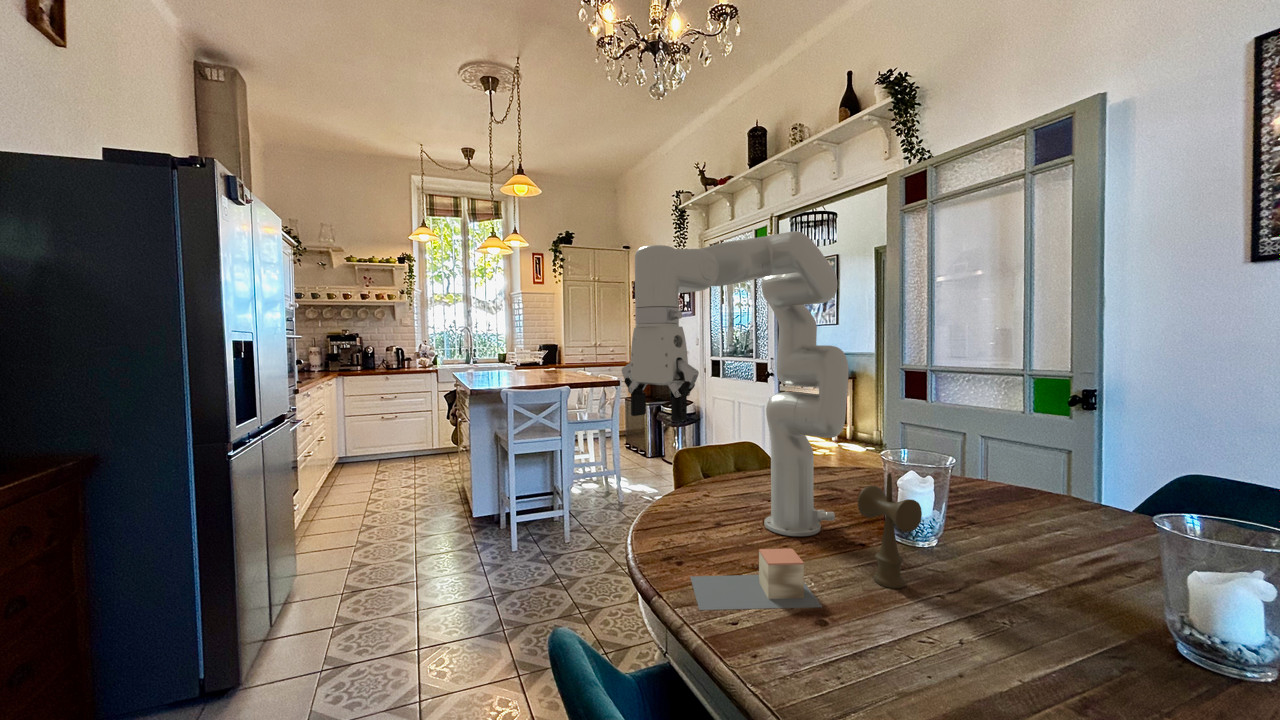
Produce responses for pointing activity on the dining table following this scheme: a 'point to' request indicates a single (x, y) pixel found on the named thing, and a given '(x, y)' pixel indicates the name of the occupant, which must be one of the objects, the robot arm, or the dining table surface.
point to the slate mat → (742, 594)
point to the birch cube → (781, 573)
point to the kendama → (889, 529)
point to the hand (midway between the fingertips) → (658, 417)
